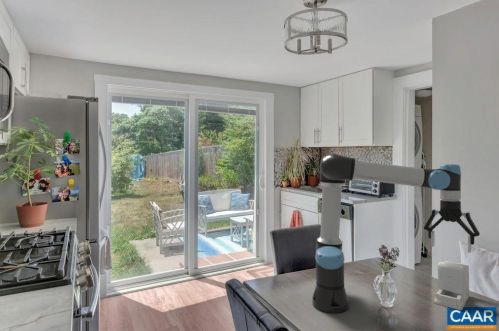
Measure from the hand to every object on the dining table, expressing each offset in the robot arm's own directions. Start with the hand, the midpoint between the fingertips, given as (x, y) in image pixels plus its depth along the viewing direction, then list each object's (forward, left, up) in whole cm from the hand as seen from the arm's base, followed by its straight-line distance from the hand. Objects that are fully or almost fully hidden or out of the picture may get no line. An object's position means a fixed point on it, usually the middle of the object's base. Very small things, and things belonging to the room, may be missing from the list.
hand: (450, 248), depth 133 cm
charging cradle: (0, 0, -22) cm, 22 cm away
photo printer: (0, 0, -19) cm, 19 cm away
